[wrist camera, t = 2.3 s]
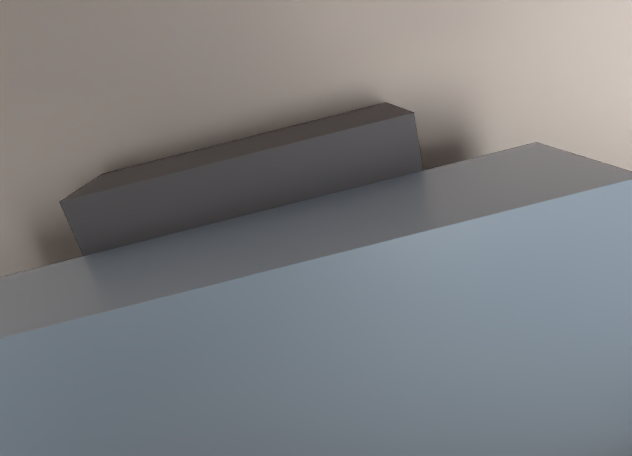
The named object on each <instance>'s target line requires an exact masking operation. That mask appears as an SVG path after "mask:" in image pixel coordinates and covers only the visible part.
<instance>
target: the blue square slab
mask: <svg viewBox="0 0 632 456" xmlns="http://www.w3.org/2000/svg"><path fill="white" fill-rule="evenodd" d="M0 456H632V172H631V171H628V170H625V169H622V168H619V167H615V166H612V165H609V164H606V163H602V162H599V161H596V160H593V159H589V158H586V157H583V156H580V155H576V154H573V153H570V152H567V151H563V150H560V149H557V148H554V147H550V146H547V145H544V144H541V143H537V142H535V143H531V144H527V145H523V146H519V147H515V148H511V149H507V150H503V151H499V152H495V153H491V154H487V155H483V156H479V157H475V158H471V159H467V160H463V161H459V162H455V163H452V164H448V165H444V166H440V167H436V168H432V169H428V170H424V171H420V172H416V173H412V174H408V175H404V176H400V177H396V178H392V179H388V180H384V181H380V182H376V183H372V184H368V185H364V186H360V187H356V188H352V189H348V190H344V191H340V192H336V193H332V194H328V195H324V196H320V197H317V198H313V199H309V200H305V201H301V202H297V203H293V204H289V205H285V206H281V207H277V208H273V209H269V210H265V211H261V212H257V213H253V214H249V215H245V216H241V217H237V218H233V219H229V220H225V221H221V222H217V223H213V224H209V225H205V226H201V227H197V228H193V229H189V230H185V231H181V232H178V233H174V234H170V235H166V236H162V237H158V238H154V239H150V240H146V241H142V242H138V243H134V244H130V245H126V246H122V247H118V248H114V249H110V250H106V251H102V252H98V253H94V254H90V255H86V256H82V257H78V258H74V259H70V260H66V261H62V262H58V263H54V264H50V265H46V266H42V267H39V268H35V269H31V270H27V271H23V272H19V273H15V274H11V275H7V276H3V277H0Z"/></svg>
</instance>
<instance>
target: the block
mask: <svg viewBox="0 0 632 456" xmlns="http://www.w3.org/2000/svg"><path fill="white" fill-rule="evenodd" d="M420 171H423V167H422V161H421V155H420V148H419V142H418V136H417V129H416V123H415V117H414V112H411V111H408V110H405V109H403V108H400V107H397V106H395V105H392V104H389V103H382V104H378V105H374V106H371V107H367V108H363V109H359V110H355V111H351V112H347V113H343V114H339V115H335V116H331V117H327V118H323V119H319V120H315V121H311V122H307V123H303V124H299V125H295V126H291V127H287V128H283V129H279V130H275V131H271V132H267V133H263V134H259V135H255V136H252V137H248V138H244V139H240V140H236V141H232V142H228V143H224V144H220V145H216V146H212V147H208V148H204V149H200V150H196V151H192V152H188V153H184V154H180V155H176V156H172V157H168V158H164V159H160V160H156V161H152V162H148V163H144V164H140V165H136V166H133V167H129V168H125V169H121V170H117V171H113V172H109V173H105V174H101V175H100V176H98V177H97V178H95V179H94V180H92V181H91V182H89V183H88V184H86V185H85V186H83V187H81V188H80V189H78V190H77V191H75V192H74V193H72V194H71V195H69V196H68V197H66V198H65V199H63V200H61V201H60V202H59V203H60V205H61V207H62V209H63V211H64V214H65V216H66V218H67V220H68V222H69V225H70V227H71V229H72V231H73V233H74V236H75V238H76V240H77V242H78V244H79V247H80V249H81V251H82V253H83V255H84V256H86V255H90V254H94V253H98V252H102V251H106V250H110V249H114V248H118V247H122V246H126V245H130V244H134V243H138V242H142V241H146V240H150V239H154V238H158V237H162V236H166V235H170V234H174V233H178V232H181V231H185V230H189V229H193V228H197V227H201V226H205V225H209V224H213V223H217V222H221V221H225V220H229V219H233V218H237V217H241V216H245V215H249V214H253V213H257V212H261V211H265V210H269V209H273V208H277V207H281V206H285V205H289V204H293V203H297V202H301V201H305V200H309V199H313V198H317V197H320V196H324V195H328V194H332V193H336V192H340V191H344V190H348V189H352V188H356V187H360V186H364V185H368V184H372V183H376V182H380V181H384V180H388V179H392V178H396V177H400V176H404V175H408V174H412V173H416V172H420Z"/></svg>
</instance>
